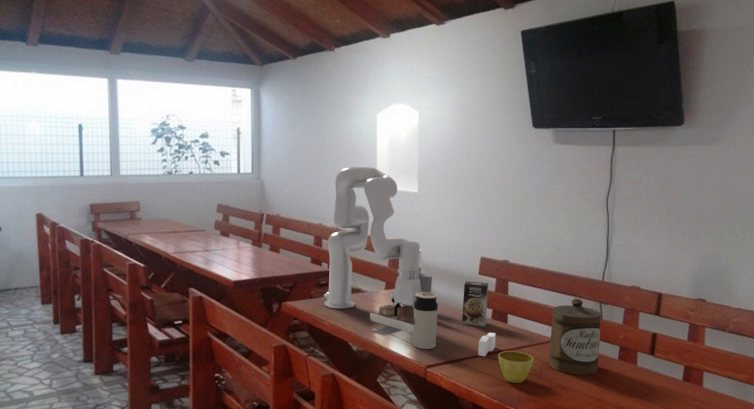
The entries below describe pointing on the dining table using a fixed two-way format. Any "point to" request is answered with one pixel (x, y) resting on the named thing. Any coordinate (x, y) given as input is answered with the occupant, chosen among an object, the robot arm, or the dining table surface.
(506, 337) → the dining table surface
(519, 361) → the flower pot
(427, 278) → the hip flask
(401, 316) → the brown wooden block
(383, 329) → the mat
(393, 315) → the offcut low
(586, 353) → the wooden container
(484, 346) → the napkin holder
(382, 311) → the offcut top
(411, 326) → the rack
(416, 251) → the robot arm
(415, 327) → the travel mug
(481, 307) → the coffee box
